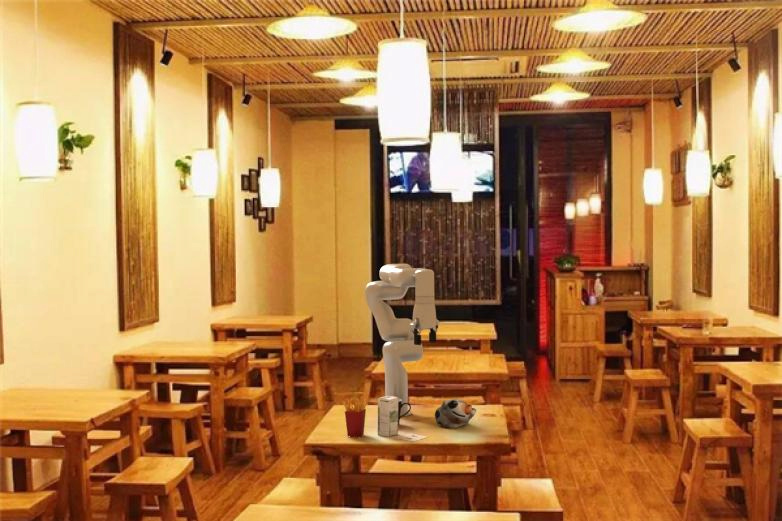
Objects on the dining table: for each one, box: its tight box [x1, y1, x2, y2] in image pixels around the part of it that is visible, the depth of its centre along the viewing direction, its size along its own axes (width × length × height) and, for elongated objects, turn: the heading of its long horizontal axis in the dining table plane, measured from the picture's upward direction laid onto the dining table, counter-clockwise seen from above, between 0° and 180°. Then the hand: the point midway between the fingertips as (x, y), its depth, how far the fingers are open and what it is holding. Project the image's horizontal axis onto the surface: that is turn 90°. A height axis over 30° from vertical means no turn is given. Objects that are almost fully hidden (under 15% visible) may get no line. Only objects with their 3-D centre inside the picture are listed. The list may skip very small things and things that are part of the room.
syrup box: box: [377, 395, 399, 438], centre depth 343 cm, size 6×6×14 cm
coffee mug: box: [398, 399, 412, 426], centre depth 360 cm, size 12×9×10 cm
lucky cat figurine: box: [434, 398, 477, 429], centre depth 357 cm, size 15×12×14 cm
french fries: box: [342, 395, 367, 438], centre depth 343 cm, size 9×8×15 cm
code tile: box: [395, 433, 428, 442], centre depth 339 cm, size 9×9×1 cm
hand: (425, 343), depth 356 cm, fingers open, 9 cm apart
